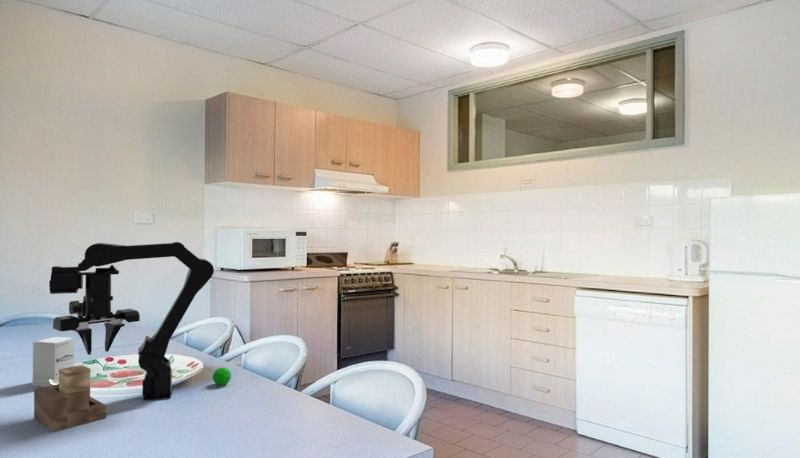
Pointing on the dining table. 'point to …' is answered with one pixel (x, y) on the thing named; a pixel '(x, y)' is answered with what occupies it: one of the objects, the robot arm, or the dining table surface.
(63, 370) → the peg
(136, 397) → the dining table surface
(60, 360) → the supplement box
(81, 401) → the socket
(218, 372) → the polyhedron
